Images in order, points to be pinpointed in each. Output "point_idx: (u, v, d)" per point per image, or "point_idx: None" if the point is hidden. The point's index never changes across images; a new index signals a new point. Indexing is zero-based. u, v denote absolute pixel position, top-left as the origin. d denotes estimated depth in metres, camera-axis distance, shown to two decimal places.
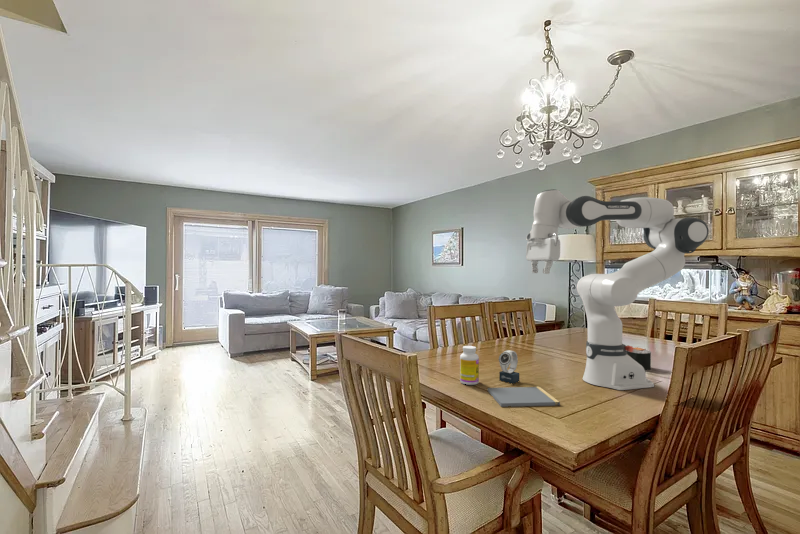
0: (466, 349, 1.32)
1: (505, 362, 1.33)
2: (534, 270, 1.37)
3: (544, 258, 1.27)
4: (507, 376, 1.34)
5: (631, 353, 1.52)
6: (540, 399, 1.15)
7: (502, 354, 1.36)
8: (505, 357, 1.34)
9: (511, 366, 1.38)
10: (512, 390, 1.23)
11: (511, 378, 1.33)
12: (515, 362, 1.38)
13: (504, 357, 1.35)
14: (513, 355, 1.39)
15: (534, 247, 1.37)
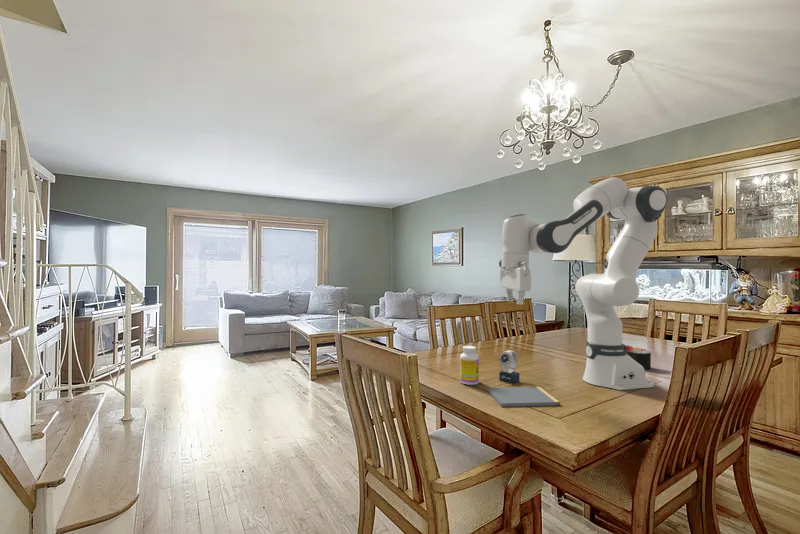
0: (466, 349, 1.32)
1: (505, 362, 1.33)
2: (509, 298, 1.31)
3: (516, 289, 1.21)
4: (507, 376, 1.34)
5: (631, 353, 1.52)
6: (540, 399, 1.15)
7: (502, 354, 1.36)
8: (505, 357, 1.34)
9: (511, 366, 1.38)
10: (512, 390, 1.23)
11: (511, 378, 1.33)
12: (515, 362, 1.38)
13: (504, 357, 1.35)
14: (513, 355, 1.39)
15: (507, 275, 1.31)
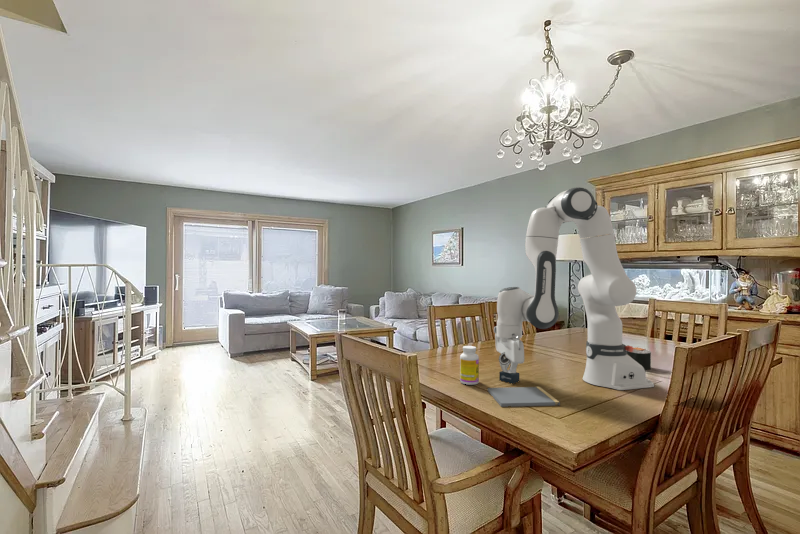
0: (466, 349, 1.32)
1: (505, 362, 1.33)
2: None
3: (510, 359, 1.30)
4: (507, 376, 1.34)
5: (631, 353, 1.52)
6: (540, 399, 1.15)
7: (502, 354, 1.36)
8: (505, 357, 1.34)
9: None
10: (512, 390, 1.23)
11: (511, 378, 1.33)
12: None
13: (504, 357, 1.35)
14: None
15: (501, 341, 1.40)
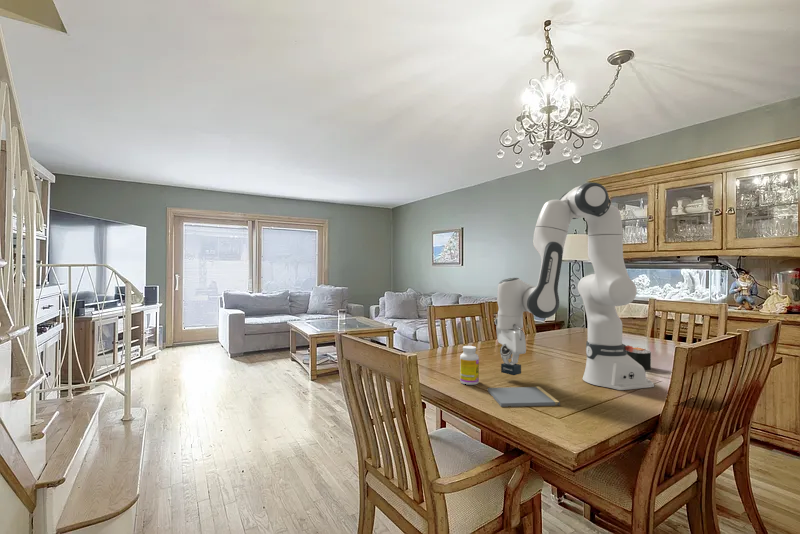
0: (466, 349, 1.32)
1: (506, 353, 1.34)
2: None
3: (512, 350, 1.30)
4: (509, 368, 1.35)
5: (631, 353, 1.52)
6: (540, 399, 1.15)
7: (503, 346, 1.36)
8: (506, 348, 1.35)
9: None
10: (512, 390, 1.23)
11: (512, 369, 1.33)
12: None
13: (505, 348, 1.35)
14: None
15: (503, 333, 1.40)
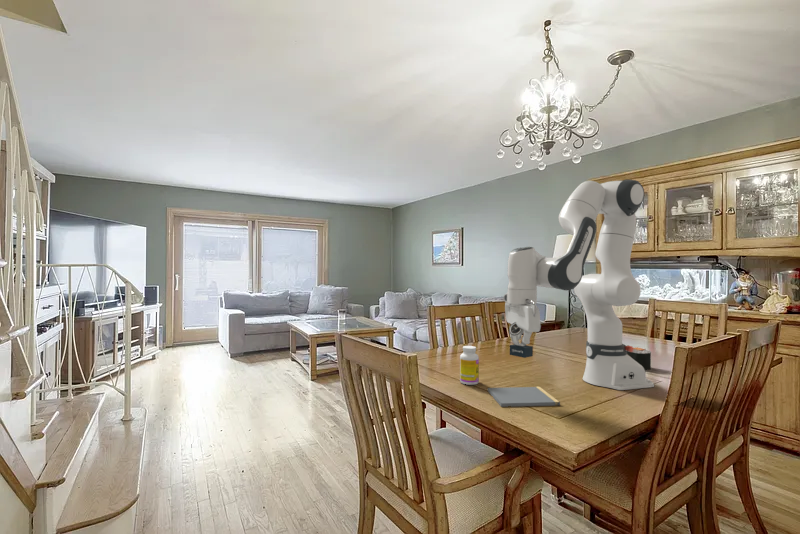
0: (466, 349, 1.32)
1: (516, 332, 1.17)
2: None
3: (524, 328, 1.13)
4: (519, 349, 1.17)
5: (631, 353, 1.52)
6: (540, 399, 1.15)
7: (513, 324, 1.19)
8: (516, 327, 1.18)
9: None
10: (512, 390, 1.23)
11: (523, 351, 1.16)
12: None
13: (515, 327, 1.18)
14: None
15: (513, 310, 1.22)
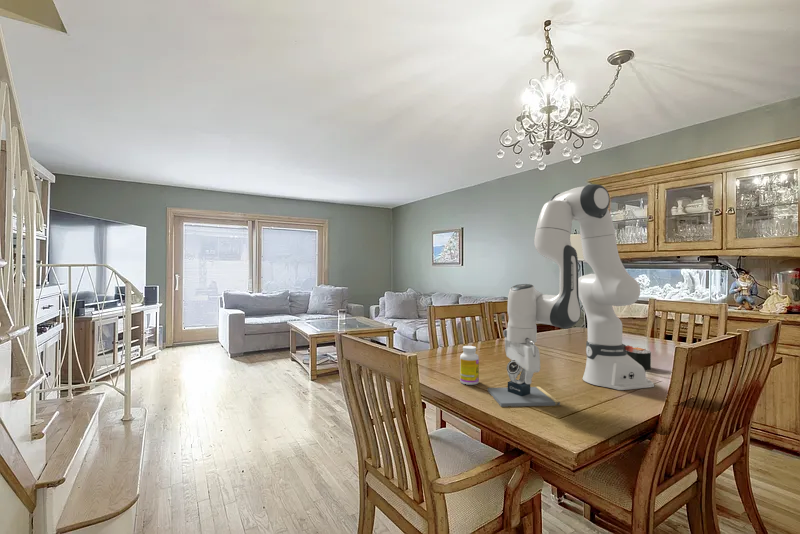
0: (466, 349, 1.32)
1: (513, 371, 1.18)
2: None
3: (523, 368, 1.13)
4: (516, 387, 1.19)
5: (631, 353, 1.52)
6: (540, 399, 1.15)
7: (511, 362, 1.21)
8: (514, 365, 1.19)
9: (521, 376, 1.22)
10: None
11: (520, 389, 1.18)
12: None
13: (513, 366, 1.20)
14: None
15: (513, 346, 1.23)
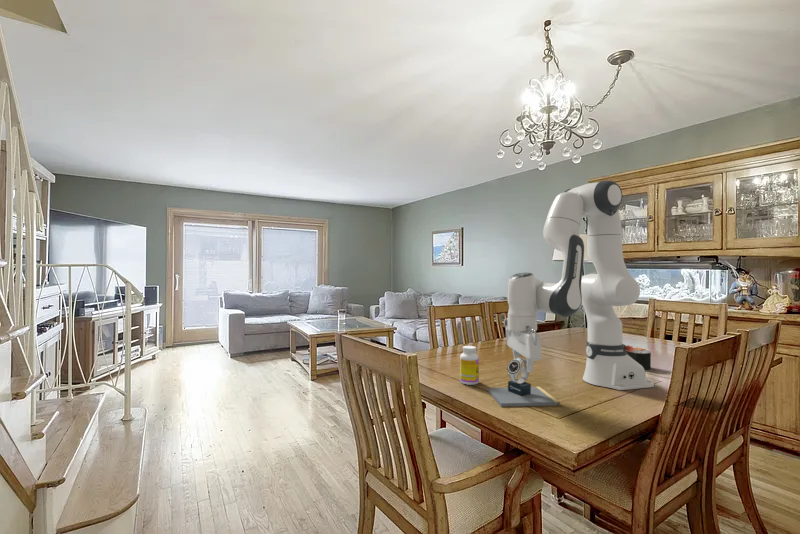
0: (466, 349, 1.32)
1: (514, 371, 1.18)
2: None
3: (525, 356, 1.13)
4: (516, 387, 1.19)
5: (631, 353, 1.52)
6: (540, 399, 1.15)
7: (511, 362, 1.21)
8: (514, 365, 1.19)
9: (522, 375, 1.22)
10: None
11: (520, 389, 1.18)
12: None
13: (513, 365, 1.20)
14: (525, 363, 1.23)
15: (513, 335, 1.23)
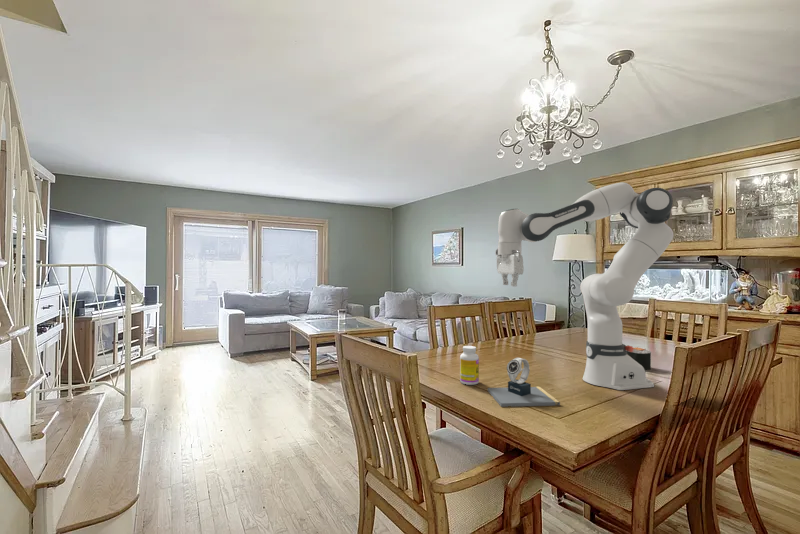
0: (466, 349, 1.32)
1: (513, 371, 1.19)
2: (505, 282, 1.51)
3: (510, 273, 1.41)
4: (516, 387, 1.19)
5: (631, 353, 1.52)
6: (540, 399, 1.15)
7: (511, 362, 1.21)
8: (514, 365, 1.19)
9: (522, 376, 1.23)
10: None
11: (520, 389, 1.18)
12: (526, 371, 1.22)
13: (513, 365, 1.20)
14: (524, 363, 1.23)
15: (502, 262, 1.51)
